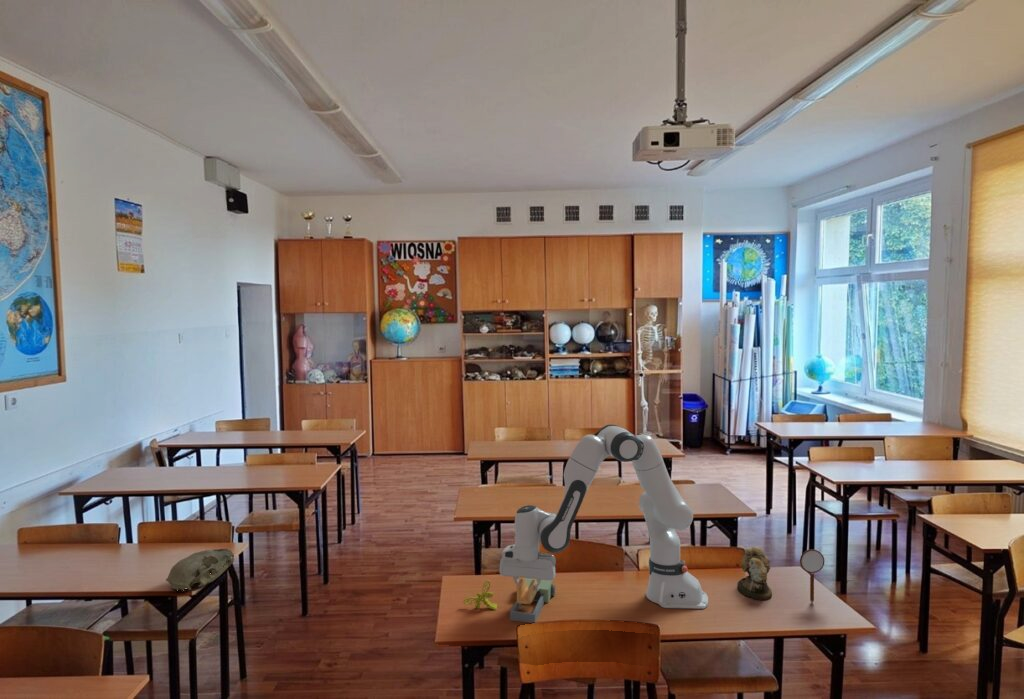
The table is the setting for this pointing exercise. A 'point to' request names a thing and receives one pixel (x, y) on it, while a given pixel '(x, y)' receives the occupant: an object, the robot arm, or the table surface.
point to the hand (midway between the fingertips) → (527, 589)
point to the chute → (526, 591)
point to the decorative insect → (483, 598)
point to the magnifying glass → (812, 566)
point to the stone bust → (755, 574)
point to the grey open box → (541, 596)
